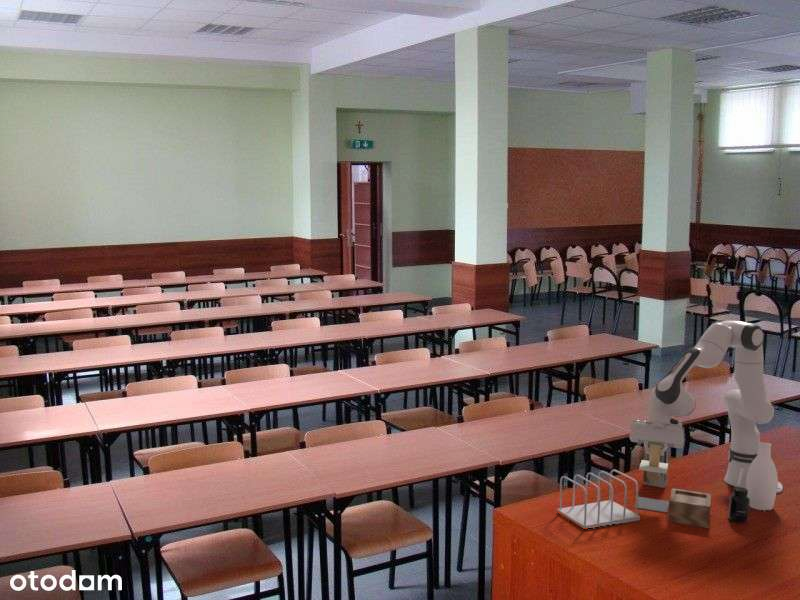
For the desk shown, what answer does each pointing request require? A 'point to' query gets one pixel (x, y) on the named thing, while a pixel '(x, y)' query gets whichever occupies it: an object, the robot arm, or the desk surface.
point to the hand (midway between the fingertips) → (654, 453)
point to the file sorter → (599, 505)
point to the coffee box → (655, 477)
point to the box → (689, 508)
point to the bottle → (762, 479)
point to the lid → (654, 461)
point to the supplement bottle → (739, 505)
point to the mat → (652, 504)
